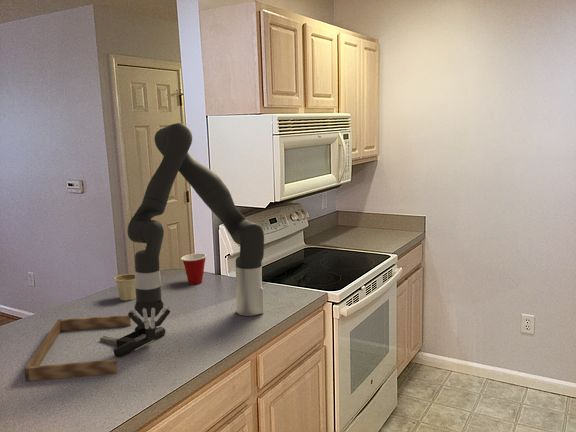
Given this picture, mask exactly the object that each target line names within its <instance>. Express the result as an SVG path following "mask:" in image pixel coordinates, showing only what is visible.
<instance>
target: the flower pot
mask: <svg viewBox="0 0 576 432" xmlns="http://www.w3.org/2000/svg"><path fill="white" fill-rule="evenodd" d="M114 280H115V283H116V285H117V290H118V295H119V299H120V300H121V301H133V300H136V291H135V273H127V274H126V273H125V274H120V275H117V276H115V277H114Z"/></svg>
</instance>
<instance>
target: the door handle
mask: <svg viewBox="0 0 576 432" xmlns="http://www.w3.org/2000/svg"><path fill="white" fill-rule="evenodd" d="M150 327H151V325H150ZM166 331H167V330H166V328H165V327H163V326H157V327H156V328H155V334H156V335H155V338H153V340H148V338H146V331H145V328H143V327H142V328H140V327H139V326H138V325H137V326H135V327H134V331H133V332H130V333H129V334H126V335H123V336H121V337H120V338H117V337H111V336H105V335H103V336H101V337H99V341H100V342H103V343H105V344H109V345H112V346H116V348H115V349H114V350H113V355H114V356H115V357H116V358H120V357H121V358H122V357H123V356H126V355H127V354H130V353H131V352H134V351H138V350H139V349H142V348H144V347H145V346H147V345H149V344H151V343H153V342H155V341H156V340H157V339H159V338H161V337H164V336H165V334H166Z"/></svg>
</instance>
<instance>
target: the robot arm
mask: <svg viewBox="0 0 576 432" xmlns="http://www.w3.org/2000/svg"><path fill="white" fill-rule="evenodd" d="M192 142H193V134H192V131H191V129H190V128H189V127H188V126H187V125H186V124H184V123H180V122H177V123H172V124H169V125H167V126H165V127H162V128H160V129H158V130H157V131H156V132H155V135H154V144H155V147H156V148H157V150H158V151H159V153H160V154H161V155H162V156H163V157H162V160H161V162H160V164H159V166H158V167H157V169H156V170H155V172H154V174H153V175H152V176H151V178H150V180H149V182H148V183H147V187H146V190H145V193H144V194H143V195H144V196H143V199H142V202H141V204H140V205H139V207H138V209H137V210H136V212H135V213H134V214H133V216H132V218H131V219H130V221H129V223H128V226H127V229H126V230H127V231H126V232H127V236H128V238H129V240H130V241H132V242H134V243H138V244H139V243H141V244H146V245H145V249H143V250H139V251H137V252H136V253H135V255H134V272H135V273H134V274H135V291H136V298H135V304H134V308H132V309H130V310H129V311H128V313H127V315H128V316H129V317H130V318H131V321H133V322H134V323H135V324H136V325H137V326H139V327H140V328H142V327H143V328H145V331H146V338H148V340H153V338H155V335H156V334H155V328H156V327H157V328H158V327H161V325H162V324H163V323H164V321H165V320H166V319H167V318H168V316H169V315H170V313H171V308H170V307H167V306H165V304H164V302H163V298H162V277H161V272H160V254H161V248H162V244H163V240H164V235H165V230H164V226H163V224H162V223H161V222H160V221H158V220H155V219H153V218H154V217H158V216H161V215H163V214H164V213H165V209H166V206H167V204H168V201H169V198H170V194H171V191H172V189H173V188H172V187H173V186H174V183H175V180H176V178H177V175H178V172H179V173H180V175H182V177H183V178H184V179H185V180H186V182H187V183H188V184H189V186H191V188H192V189H193V190H194V192H195V193H196V194H197V195H198V197H199V198H200V199H201V200H202V202H203V203H204V204H205V205H206V206H207V208H209V209H210V210H211V212H212V213H213V214H214V215H215V216H216V217H217V218H218V219H219V220H220V222H221V223H222V224H223V226H224V227H225V228H226V230H227V232H228V234H229V235H230V237H231V238H232V239H233V241H234V242H235V243H236V244H237V245H239V256H237V257H236V259H235V289H236V290H235V294H236V297H235V298H236V313H237V314H238V315H239V316H244V317H246V316H247V317H252V316H253V317H254V316H257V315H260V314H261V315H262V314H264V288H263V284H262V283H263V282H262V281H263V279H262V278H263V277H262V275H263V273H262V270H263V268H262V267H263V266H262V263H263V260H264V253H265V235H264V229H263V228H262V226H261V225H260V224H258V223H256V222H253V221H251V220H248V219H247V218H246V217H245V216H244V215H243V213H242V212H241V211H239V209H238V208H237V206H236V205H235V202H234V200H233V197H232V194H231V192H230V190H229V188H228V187H227V186H226V184H225V183H224V182H223V180H222V179H221V177H220V176H219V175H218V174H217V173H215V171H213V169H211V168H209V167H207V165H204V164H202V163H201V162H200V161H198V160H197V159H195V158H194V157H193V156H192V155H191V154H190V153H189V150H190V148H191V145H192ZM160 313H162V314H161V315H160V317H159V318H158V319H157V320H156V318H157V316H158V315H159V314H160ZM138 314H139V315H140V316H139V315H138ZM140 317H141V318H143V320H142V319H141V318H140ZM150 326H151V327H150Z"/></svg>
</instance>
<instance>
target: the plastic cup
mask: <svg viewBox="0 0 576 432" xmlns="http://www.w3.org/2000/svg"><path fill="white" fill-rule="evenodd" d="M206 257H207V254H206V253H200V252H199V253H198V252H197V253H190V254H186V255H183V256H182V257H181V261H182V263H183V265H184V268H185V273H186V276H187V277H186V278H187V281H188V284H190V285H200V284H202V283H203V278H204V273H205V271H204V270H205V263H206Z"/></svg>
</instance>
